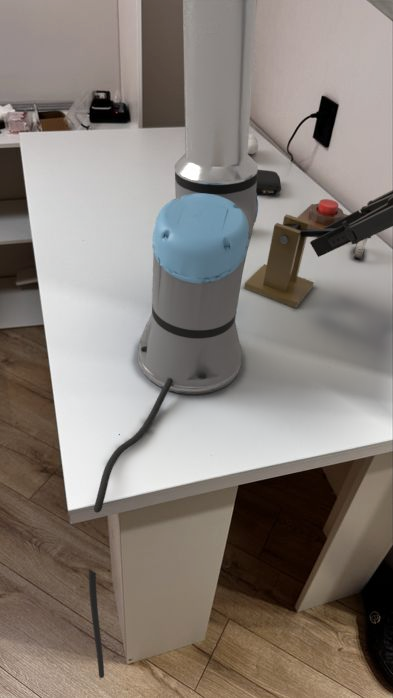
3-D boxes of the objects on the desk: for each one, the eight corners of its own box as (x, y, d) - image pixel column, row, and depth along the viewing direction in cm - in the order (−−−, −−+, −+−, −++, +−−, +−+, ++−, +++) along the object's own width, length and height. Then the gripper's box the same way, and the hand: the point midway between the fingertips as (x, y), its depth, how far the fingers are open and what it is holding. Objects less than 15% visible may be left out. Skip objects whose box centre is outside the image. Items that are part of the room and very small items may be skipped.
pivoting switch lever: (359, 233, 85) (358, 218, 84) (349, 245, 82) (348, 230, 80) (289, 234, 92) (287, 221, 90) (277, 245, 88) (275, 232, 87)
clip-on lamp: (212, 150, 154) (216, 159, 138) (212, 126, 151) (216, 133, 135) (253, 148, 154) (261, 157, 138) (253, 125, 151) (262, 131, 135)
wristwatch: (366, 249, 109) (373, 227, 106) (364, 264, 105) (371, 241, 101) (349, 246, 110) (355, 224, 107) (346, 260, 105) (353, 237, 102)
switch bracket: (312, 287, 97) (329, 223, 88) (295, 308, 91) (312, 242, 83) (263, 269, 100) (275, 206, 92) (244, 288, 95) (255, 222, 86)
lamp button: (332, 218, 111) (334, 209, 110) (314, 212, 112) (316, 203, 111) (338, 211, 114) (341, 202, 112) (321, 206, 115) (323, 197, 114)
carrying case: (218, 193, 124) (280, 199, 124) (219, 181, 122) (283, 187, 122) (219, 175, 132) (278, 181, 133) (220, 163, 130) (280, 169, 131)
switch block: (336, 243, 110) (341, 226, 108) (292, 228, 114) (296, 211, 111) (351, 226, 117) (356, 209, 114) (309, 212, 120) (313, 196, 118)
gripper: (467, 219, 65) (312, 285, 81) (488, 175, 77) (350, 240, 93) (440, 165, 63) (287, 244, 80) (465, 128, 75) (328, 203, 92)
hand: (321, 241), depth 86 cm, fingers closed on pivoting switch lever, 5 cm apart
